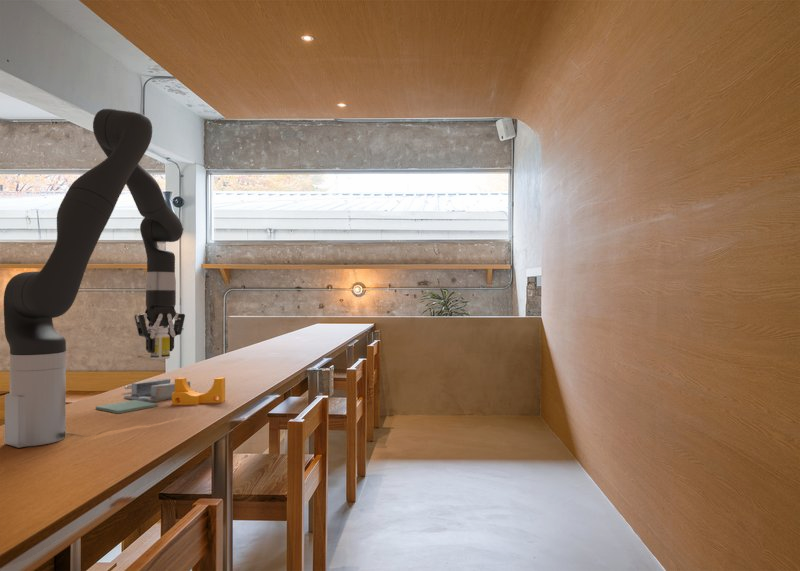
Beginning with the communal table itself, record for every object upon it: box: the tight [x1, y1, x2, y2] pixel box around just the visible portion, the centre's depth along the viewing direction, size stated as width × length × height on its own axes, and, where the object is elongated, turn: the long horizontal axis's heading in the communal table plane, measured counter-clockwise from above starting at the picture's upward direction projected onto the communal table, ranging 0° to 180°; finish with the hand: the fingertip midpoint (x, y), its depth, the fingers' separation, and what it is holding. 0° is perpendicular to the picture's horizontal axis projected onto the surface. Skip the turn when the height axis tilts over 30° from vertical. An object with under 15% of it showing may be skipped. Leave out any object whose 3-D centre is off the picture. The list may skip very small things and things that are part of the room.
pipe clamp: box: [171, 376, 226, 406], centre depth 141 cm, size 12×4×6 cm, turn 90°
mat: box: [95, 400, 159, 414], centre depth 136 cm, size 10×10×1 cm
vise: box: [123, 378, 191, 403], centre depth 152 cm, size 14×18×4 cm
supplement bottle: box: [150, 326, 171, 360], centre depth 150 cm, size 5×5×8 cm
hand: (160, 351), depth 150 cm, fingers closed on supplement bottle, 4 cm apart
